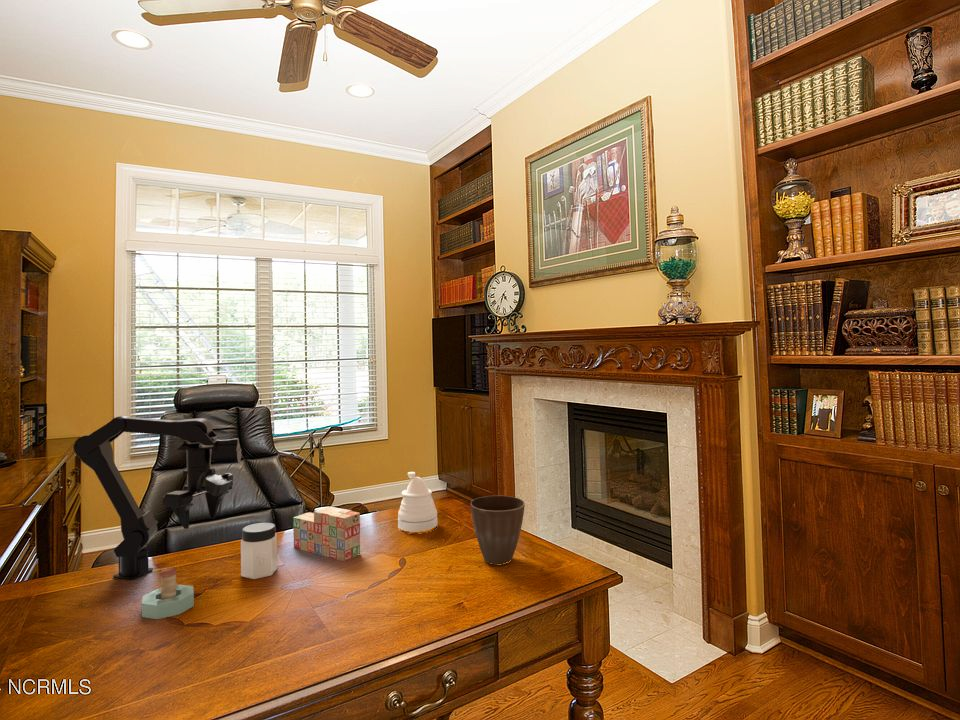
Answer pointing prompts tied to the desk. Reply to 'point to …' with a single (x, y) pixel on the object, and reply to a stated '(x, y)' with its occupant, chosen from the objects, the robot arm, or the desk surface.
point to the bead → (167, 603)
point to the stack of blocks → (328, 533)
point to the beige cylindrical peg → (168, 583)
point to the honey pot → (417, 507)
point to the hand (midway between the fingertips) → (199, 523)
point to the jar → (258, 550)
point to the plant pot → (497, 526)
